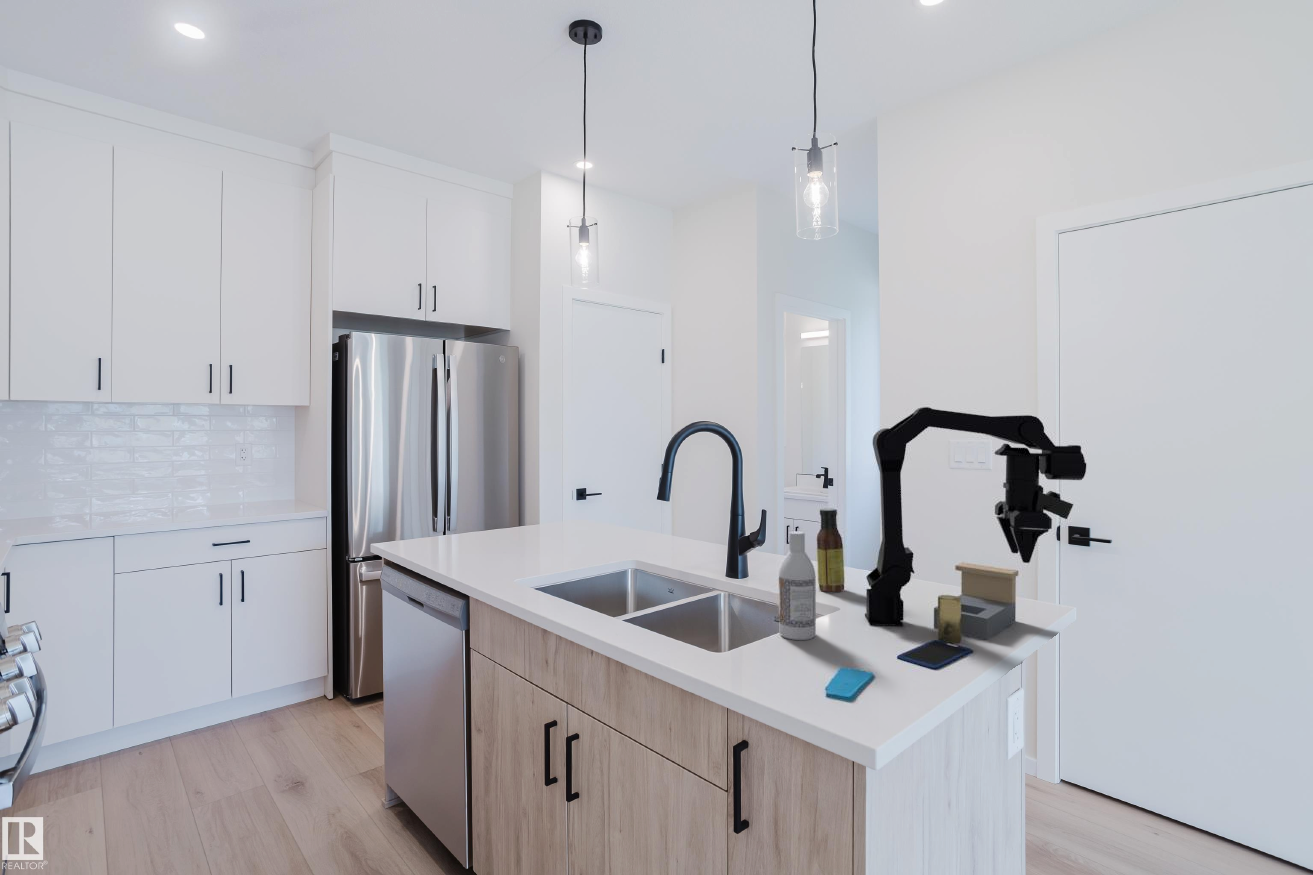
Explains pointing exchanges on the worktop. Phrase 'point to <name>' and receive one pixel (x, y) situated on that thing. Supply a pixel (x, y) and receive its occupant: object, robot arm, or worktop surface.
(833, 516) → the sauce bottle
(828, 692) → the sponge
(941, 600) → the peg
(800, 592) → the bath foam
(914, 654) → the cell phone
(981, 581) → the socket block
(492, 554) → the worktop surface
